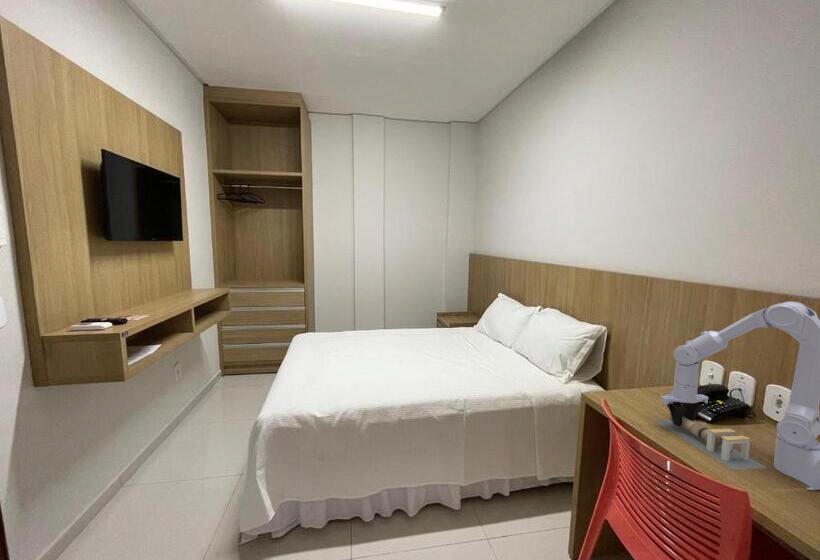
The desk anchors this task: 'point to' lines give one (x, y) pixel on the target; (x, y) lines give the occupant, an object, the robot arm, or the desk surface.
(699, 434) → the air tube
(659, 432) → the desk surface
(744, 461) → the peg gate board
